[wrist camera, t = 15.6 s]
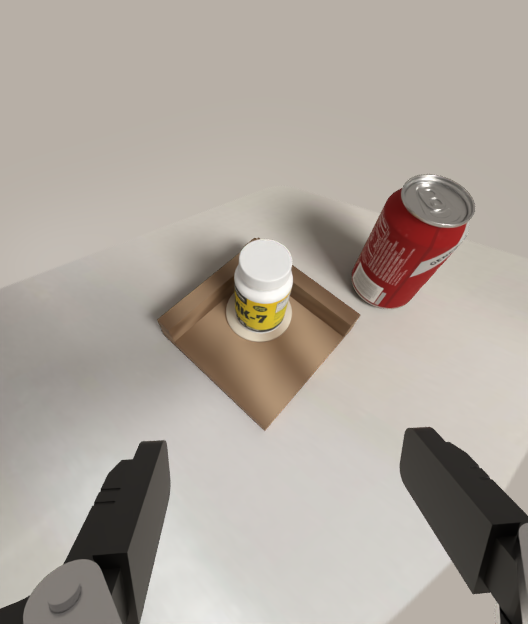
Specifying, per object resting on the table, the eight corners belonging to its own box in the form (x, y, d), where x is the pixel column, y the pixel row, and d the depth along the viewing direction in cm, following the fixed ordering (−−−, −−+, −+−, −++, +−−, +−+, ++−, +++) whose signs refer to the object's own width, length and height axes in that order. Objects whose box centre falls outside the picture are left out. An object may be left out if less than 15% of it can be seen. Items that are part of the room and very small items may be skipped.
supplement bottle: (225, 316, 30) (219, 262, 23) (254, 284, 32) (258, 224, 25) (265, 344, 29) (273, 297, 22) (293, 309, 31) (309, 254, 24)
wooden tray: (264, 430, 27) (267, 424, 24) (164, 334, 31) (155, 318, 27) (350, 329, 32) (362, 312, 29) (255, 257, 36) (256, 236, 32)
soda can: (364, 318, 33) (421, 239, 22) (339, 266, 36) (379, 175, 25) (422, 304, 34) (502, 223, 23) (393, 255, 37) (452, 163, 26)
